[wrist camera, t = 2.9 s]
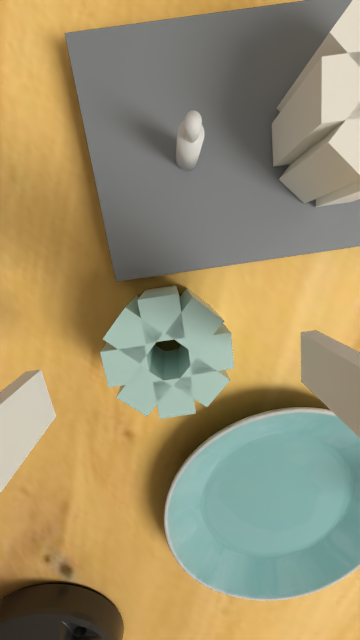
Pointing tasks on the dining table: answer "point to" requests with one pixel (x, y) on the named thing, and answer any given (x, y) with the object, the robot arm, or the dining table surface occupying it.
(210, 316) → the teal gear
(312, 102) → the gear
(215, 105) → the gear board
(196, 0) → the dining table surface
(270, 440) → the plate
